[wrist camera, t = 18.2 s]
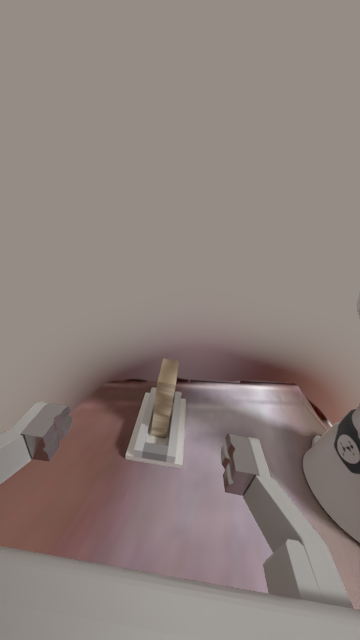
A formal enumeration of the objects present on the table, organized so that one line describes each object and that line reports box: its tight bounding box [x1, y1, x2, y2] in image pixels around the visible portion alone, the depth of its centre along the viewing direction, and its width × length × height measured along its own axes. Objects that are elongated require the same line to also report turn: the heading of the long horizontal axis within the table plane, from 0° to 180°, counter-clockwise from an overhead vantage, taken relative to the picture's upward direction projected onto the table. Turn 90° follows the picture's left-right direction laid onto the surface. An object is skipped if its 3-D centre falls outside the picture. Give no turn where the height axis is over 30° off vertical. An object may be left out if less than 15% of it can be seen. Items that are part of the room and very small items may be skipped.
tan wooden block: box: [151, 359, 179, 438], centre depth 35 cm, size 3×6×14 cm, turn 175°
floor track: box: [125, 387, 186, 469], centre depth 38 cm, size 10×14×3 cm
